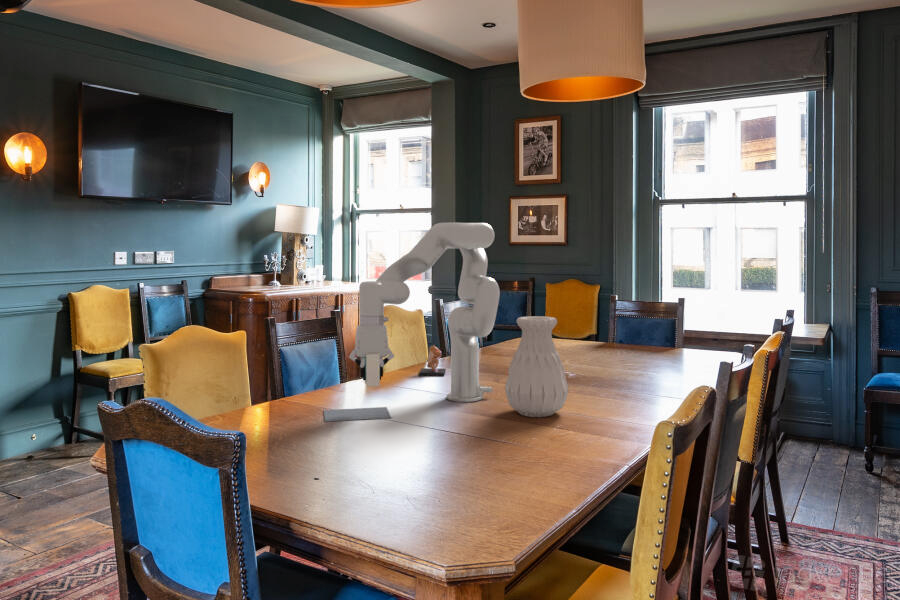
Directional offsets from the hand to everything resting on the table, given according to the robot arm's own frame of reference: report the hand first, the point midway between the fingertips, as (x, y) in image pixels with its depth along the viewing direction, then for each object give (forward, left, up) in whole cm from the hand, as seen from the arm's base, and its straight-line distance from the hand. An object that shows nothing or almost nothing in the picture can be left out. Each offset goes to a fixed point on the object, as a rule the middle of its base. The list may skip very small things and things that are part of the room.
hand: (371, 378), depth 216 cm
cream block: (0, 0, -2) cm, 2 cm away
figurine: (-30, -62, -12) cm, 70 cm away
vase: (-51, +10, -11) cm, 53 cm away
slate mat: (+5, 0, -11) cm, 12 cm away
